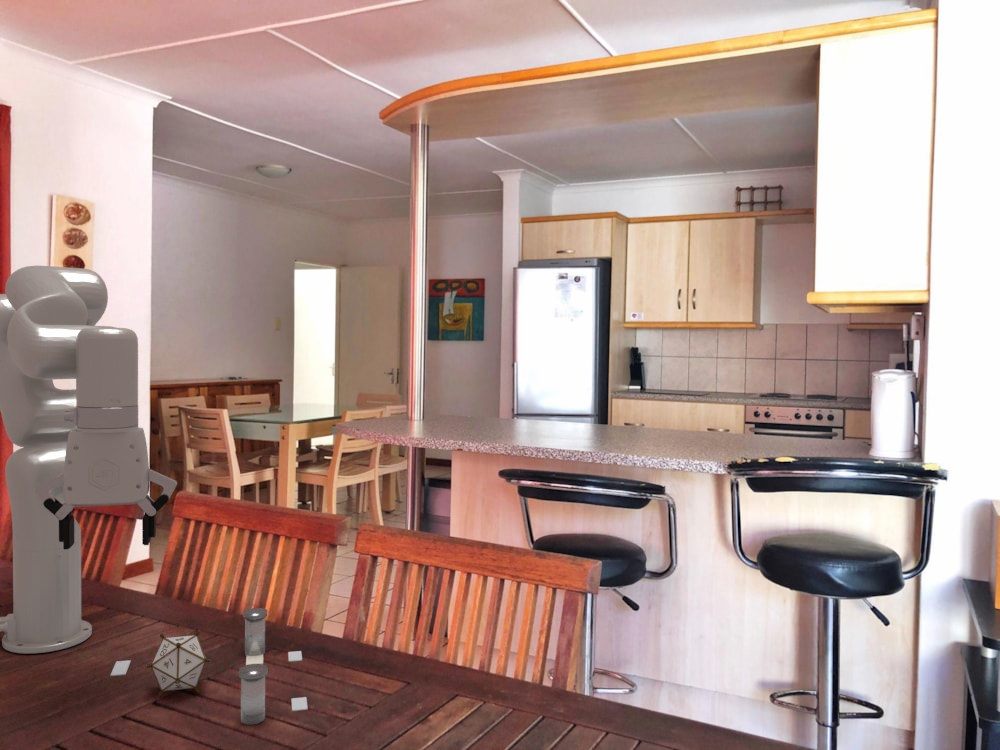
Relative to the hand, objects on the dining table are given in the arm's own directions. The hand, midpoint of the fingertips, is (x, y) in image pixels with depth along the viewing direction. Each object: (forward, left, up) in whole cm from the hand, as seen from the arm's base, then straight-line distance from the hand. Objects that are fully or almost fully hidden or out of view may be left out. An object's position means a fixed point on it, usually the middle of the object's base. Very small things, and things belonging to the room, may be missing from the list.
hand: (108, 544), depth 109 cm
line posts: (+19, 0, -21) cm, 28 cm away
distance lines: (+13, +1, -21) cm, 25 cm away
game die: (+9, 0, -21) cm, 23 cm away
